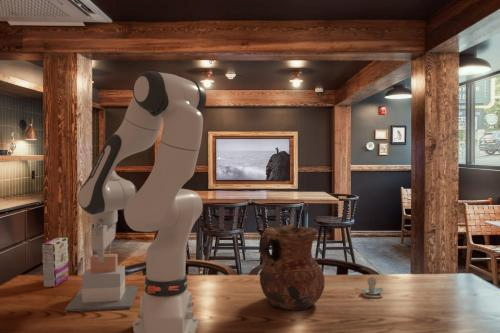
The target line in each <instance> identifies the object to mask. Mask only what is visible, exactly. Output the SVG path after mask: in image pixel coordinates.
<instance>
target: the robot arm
mask: <svg viewBox="0 0 500 333" xmlns="http://www.w3.org/2000/svg"><path fill="white" fill-rule="evenodd" d="M132 95H133V97H132V98H131V100H130V103H129V105H128V107H127V110H126V112H125V115H124V117H123V121H122V122H121V124H120V126H119V128H117V130H116V131H115V132H114V133H113V134H112V135H111V136H109V137H108V138H107V140H106V141H105V142H104V144H103V146H102V148H101V150H100V153H99V154H98V156H97V158H96V160H95V163H94V164H93V166H92V169H91V171H90V173H89V175H88V177H87V179H85V182H84V183H83V184H82V185H81V187H80V189H79V191H78V194H77V201H78V202H77V203H78V204H79V206H80V208H81V209H82V210H83V211H84V212H86V214H87V213H88V214H89V224H90V225H93V227H92V232H91V249H92V251H93V252H96V254H97V255H98V262H104V260H105V256H104V254H111V248H112V242H113V241H114V240H115V239H116V238H115V237H116V232H117V231H116V230H117V222H118V218H119V217H118V216H119V214H118V211H119V210H121V211H122V210H123V216H124V220H125V223H126V225H127V226H128V227H129V228H130V230H131V229H132V231H135V232H144V233H145V232H147V233H149V232H151V233H152V232H157V231H158V233H157V235H156V236H155V239H154V240H153V241H152V243H151V244H149V246H148V247H147V249H146V253H145V255H146V257H145V258H146V260H145V261H146V263H145V264H146V266H145V268H146V269H145V270H146V273H145V274H146V276H145V277H144V285H143V286H144V293H143V294H142V295H140V297H139V298H140V304H139V305H140V307H139V308H140V311H139V312H140V313H138V316H137V318H138V319H136V320H135V321H133V323H132V329H133V330H132V331H133V333H196V331H197V329H198V326H199V324H200V318H199V317H197V316H194V311H193V310H194V309H193V307H194V302H193V293H191V291H189V290H188V274H186V257H187V255H186V254H187V245H188V242H189V238H190V235H191V233H192V229H193V227H194V225H195V224H196V222H197V220H198V219H199V218H200V217H201V215H202V213H203V207H204V206H203V201H202V200H203V199H202V197H201V195H200V194H199V193H198V192H196V191H195V190H192V189H188V188H187V189H185V188H182V187H183V186H184V185H185V184H186V183H187V182H188V181H189V180H191V178H192V177H193V176H194V174H195V169H196V165H197V163H198V162H197V161H198V158H199V152H200V148H201V145H202V139H203V138H202V137H203V128H204V127H203V126H204V117H203V114H202V112H203V110H204V108H205V106H206V103H207V92H206V89H205V87H204V86H203V85H202V84H201V83H199V82H198V81H195V80H192V79H187V78H184V77H181V76H178V75H177V74H172V73H167V72H159V71H156V70H147V71H143V72H140V73H139V74H138V75H137V76H136V79H135V80H134V83H133V86H132ZM162 125H163V127H162ZM161 128H162V131H161ZM160 131H161V135H160V139H159V140H160V141H159V145H158V147H157V148H158V150H157V153H156V157H155V161H154V165H153V167H152V170H151V171H150V173H149V176H148V177H147V179H146V180H145V181H144V183H143V185H142V186H141V187H140V189H139V190H137V187H136V185H135V184H134V182H132V181H131V180H127V179H125V178H123V177H121V176H119V175H118V174H117V172H116V170H115V168H116V166H117V165H118V164H119V163H120V162H121V161H122V160H124V159H125V158H127V157H129V156H132V155H134V154H138V153H142V152H144V151H146V150H148V149H150V148H151V147H153V145H154V144H155V142H156V141H157V139H158V137H159V134H160Z"/></svg>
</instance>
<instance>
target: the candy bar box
mask: <svg viewBox="0 0 500 333" xmlns="http://www.w3.org/2000/svg"><path fill="white" fill-rule="evenodd" d="M41 254H42V256H41V257H42V283H43V284H42V286H56V285H57V284H59V283H60V282H62V281H64V280H65V279H67V278H68V277H69V278H70V266H69V260H70V259H69V237H56V238H52V239H51V240H48V241H47V242H44V243H42V244H41ZM67 280H68V279H67ZM64 282H65V281H64Z"/></svg>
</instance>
